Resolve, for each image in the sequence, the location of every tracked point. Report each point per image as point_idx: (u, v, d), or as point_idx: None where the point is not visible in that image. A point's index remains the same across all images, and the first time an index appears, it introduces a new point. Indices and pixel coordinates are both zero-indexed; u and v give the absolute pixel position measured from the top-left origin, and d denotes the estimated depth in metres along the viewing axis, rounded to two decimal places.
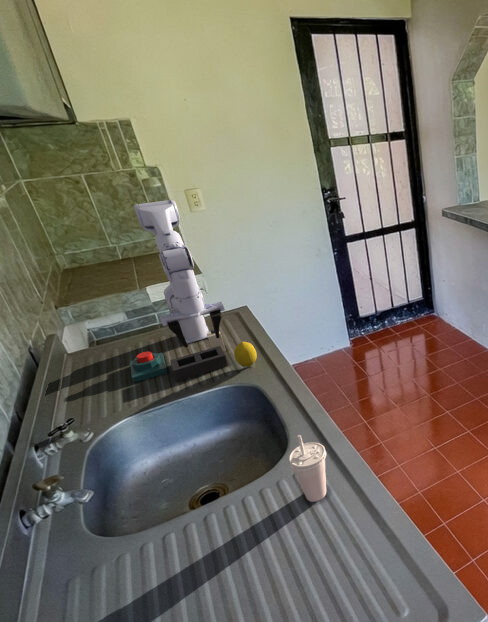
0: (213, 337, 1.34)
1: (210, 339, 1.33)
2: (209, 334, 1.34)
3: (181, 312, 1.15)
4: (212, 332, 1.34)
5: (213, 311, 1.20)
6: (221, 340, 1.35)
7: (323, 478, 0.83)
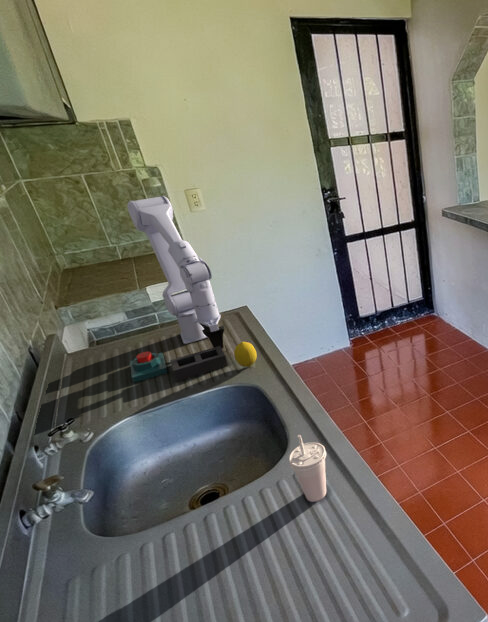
0: None
1: None
2: None
3: None
4: None
5: None
6: None
7: (323, 478, 0.83)
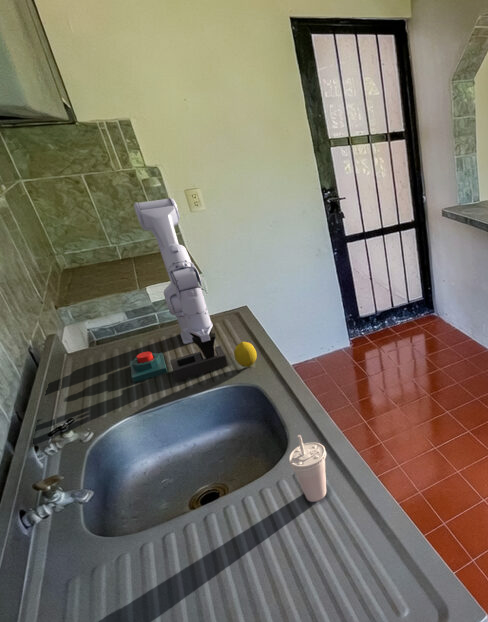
0: None
1: None
2: None
3: None
4: None
5: None
6: None
7: (323, 478, 0.83)
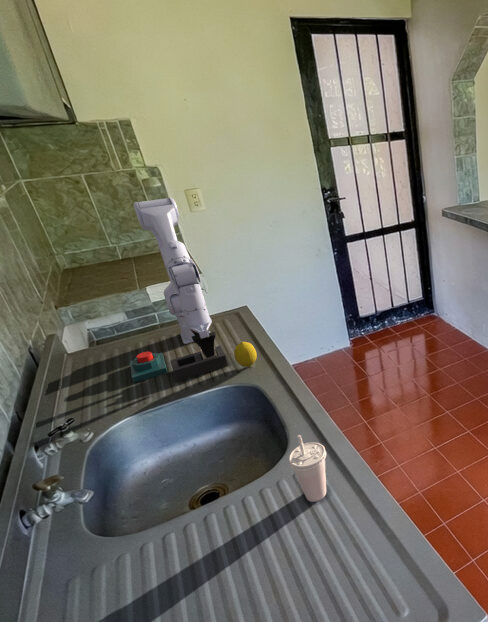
0: None
1: None
2: None
3: None
4: None
5: None
6: (215, 354, 1.28)
7: (323, 478, 0.83)
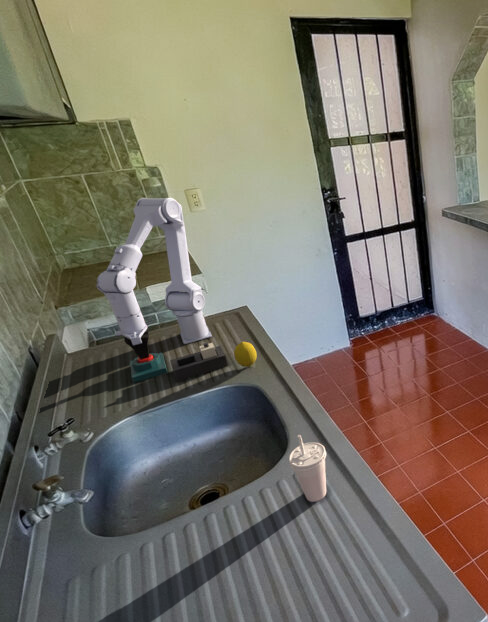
0: (206, 351, 1.26)
1: (203, 353, 1.26)
2: (202, 348, 1.26)
3: None
4: (205, 346, 1.27)
5: None
6: (215, 354, 1.28)
7: (323, 478, 0.83)
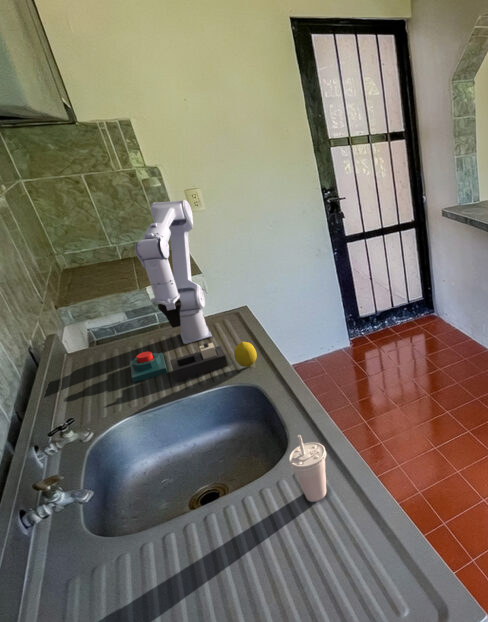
0: (206, 351, 1.26)
1: (203, 353, 1.26)
2: (202, 348, 1.26)
3: None
4: (205, 346, 1.27)
5: None
6: (215, 354, 1.28)
7: (323, 478, 0.83)
